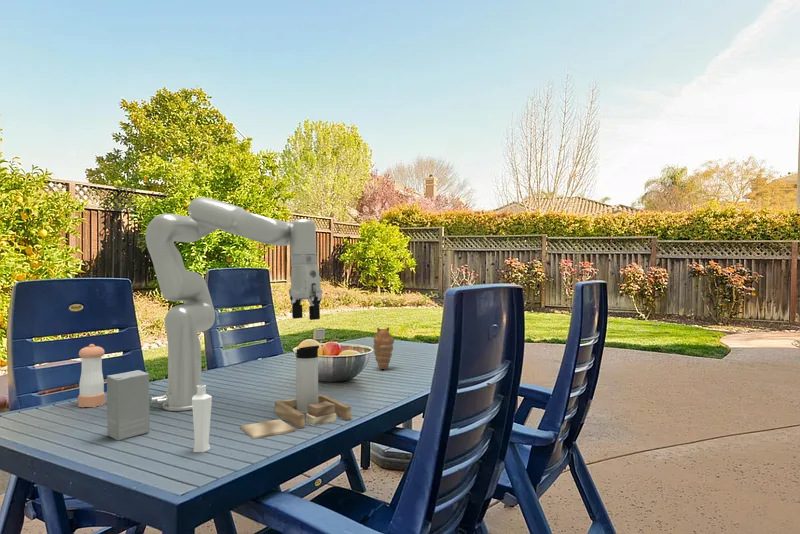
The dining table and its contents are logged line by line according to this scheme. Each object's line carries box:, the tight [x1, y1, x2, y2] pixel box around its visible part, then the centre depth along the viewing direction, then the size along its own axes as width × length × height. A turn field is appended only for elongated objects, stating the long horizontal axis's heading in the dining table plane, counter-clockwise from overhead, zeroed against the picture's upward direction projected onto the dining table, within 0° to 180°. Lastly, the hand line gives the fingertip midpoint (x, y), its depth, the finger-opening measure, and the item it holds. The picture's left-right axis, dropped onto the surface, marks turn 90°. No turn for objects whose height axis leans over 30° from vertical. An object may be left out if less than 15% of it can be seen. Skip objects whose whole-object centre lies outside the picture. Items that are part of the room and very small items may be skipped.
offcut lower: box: [305, 413, 337, 426], centre depth 144 cm, size 7×5×2 cm
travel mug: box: [295, 344, 320, 418], centre depth 152 cm, size 6×7×20 cm
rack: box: [274, 394, 352, 430], centre depth 149 cm, size 16×18×4 cm
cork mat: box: [239, 418, 296, 440], centre depth 137 cm, size 11×11×1 cm
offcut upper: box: [308, 401, 335, 417], centre depth 145 cm, size 6×4×2 cm
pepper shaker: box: [77, 343, 106, 408], centre depth 163 cm, size 7×7×19 cm
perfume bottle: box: [192, 384, 213, 453], centre depth 122 cm, size 5×4×15 cm
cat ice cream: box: [372, 326, 395, 370], centre depth 219 cm, size 9×8×18 cm
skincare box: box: [106, 369, 150, 441], centre depth 133 cm, size 8×7×16 cm
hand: (305, 318), depth 154 cm, fingers open, 9 cm apart
